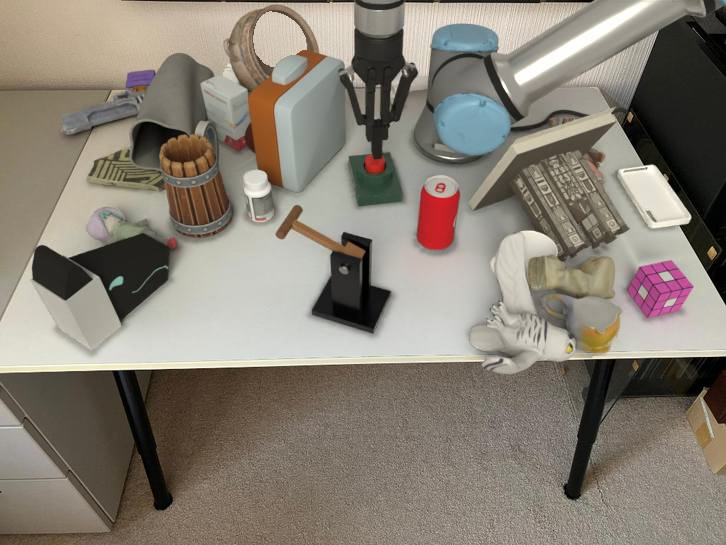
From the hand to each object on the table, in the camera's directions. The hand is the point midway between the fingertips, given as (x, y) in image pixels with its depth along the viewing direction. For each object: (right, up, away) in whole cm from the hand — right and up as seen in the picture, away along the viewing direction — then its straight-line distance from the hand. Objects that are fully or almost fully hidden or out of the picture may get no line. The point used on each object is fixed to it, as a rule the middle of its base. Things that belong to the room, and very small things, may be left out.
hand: (376, 154), depth 111 cm
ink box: (-28, +6, +14) cm, 32 cm away
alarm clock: (-14, 0, +9) cm, 16 cm away
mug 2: (+28, -25, -23) cm, 45 cm away
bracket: (-4, -26, -15) cm, 30 cm away
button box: (0, -4, +5) cm, 7 cm away
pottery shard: (-46, -4, +5) cm, 46 cm away
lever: (-8, -17, -22) cm, 29 cm away
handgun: (-59, +20, +24) cm, 67 cm away
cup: (+22, -22, -11) cm, 33 cm away
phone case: (+51, -13, -4) cm, 53 cm away
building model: (+27, -1, -6) cm, 28 cm away
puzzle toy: (+43, -26, -14) cm, 52 cm away
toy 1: (-34, -18, -9) cm, 39 cm away
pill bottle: (-20, -11, -1) cm, 23 cm away
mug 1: (-30, -10, 0) cm, 32 cm away
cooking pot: (-27, +24, +24) cm, 43 cm away
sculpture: (+36, -22, -14) cm, 44 cm away
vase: (-39, +21, +21) cm, 50 cm away
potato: (-19, +3, +8) cm, 21 cm away
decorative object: (-40, -25, -14) cm, 49 cm away
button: (0, -2, +2) cm, 3 cm away
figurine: (+38, 0, +9) cm, 40 cm away
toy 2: (+15, -24, -27) cm, 39 cm away
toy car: (-30, +19, +26) cm, 44 cm away
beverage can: (+10, -16, -5) cm, 19 cm away
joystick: (+3, +20, +22) cm, 30 cm away
